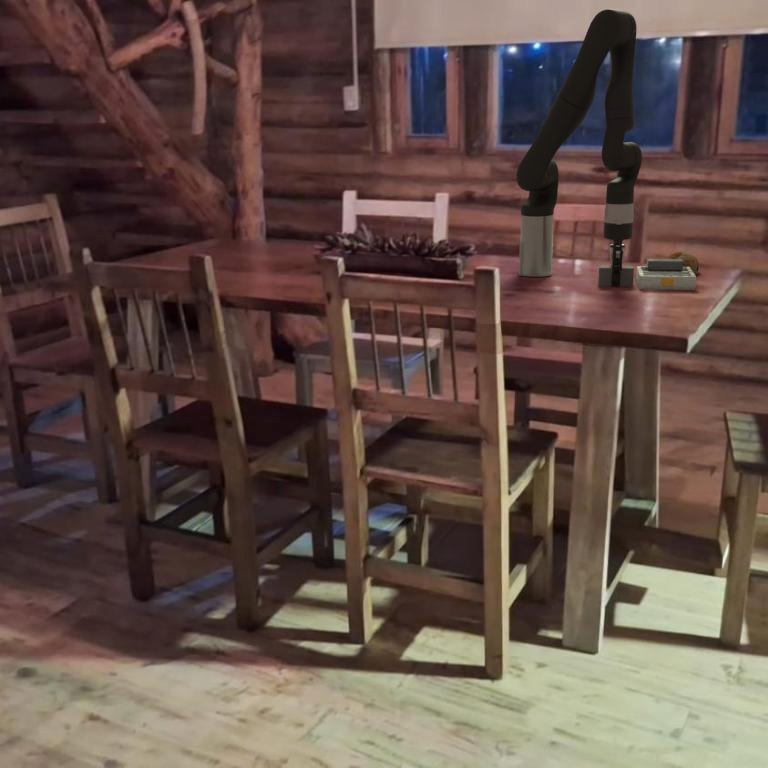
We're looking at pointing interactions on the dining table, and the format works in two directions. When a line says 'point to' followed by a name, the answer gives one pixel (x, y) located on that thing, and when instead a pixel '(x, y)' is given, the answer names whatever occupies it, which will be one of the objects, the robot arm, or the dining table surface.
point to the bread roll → (686, 260)
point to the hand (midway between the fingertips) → (615, 283)
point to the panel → (606, 275)
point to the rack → (665, 275)
